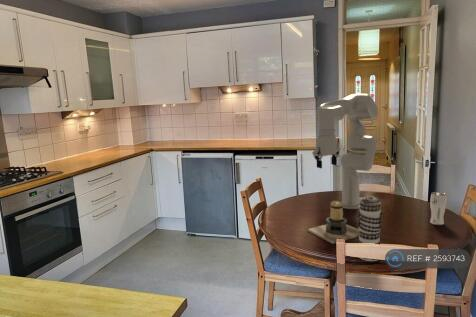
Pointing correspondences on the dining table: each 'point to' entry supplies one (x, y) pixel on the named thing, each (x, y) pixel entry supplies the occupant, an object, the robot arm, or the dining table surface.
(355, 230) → the board
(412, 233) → the dining table surface
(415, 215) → the dining table surface
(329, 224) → the ring
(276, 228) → the dining table surface
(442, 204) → the beer glass
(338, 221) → the gold cylinder
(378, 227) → the decorative candle
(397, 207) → the dining table surface
